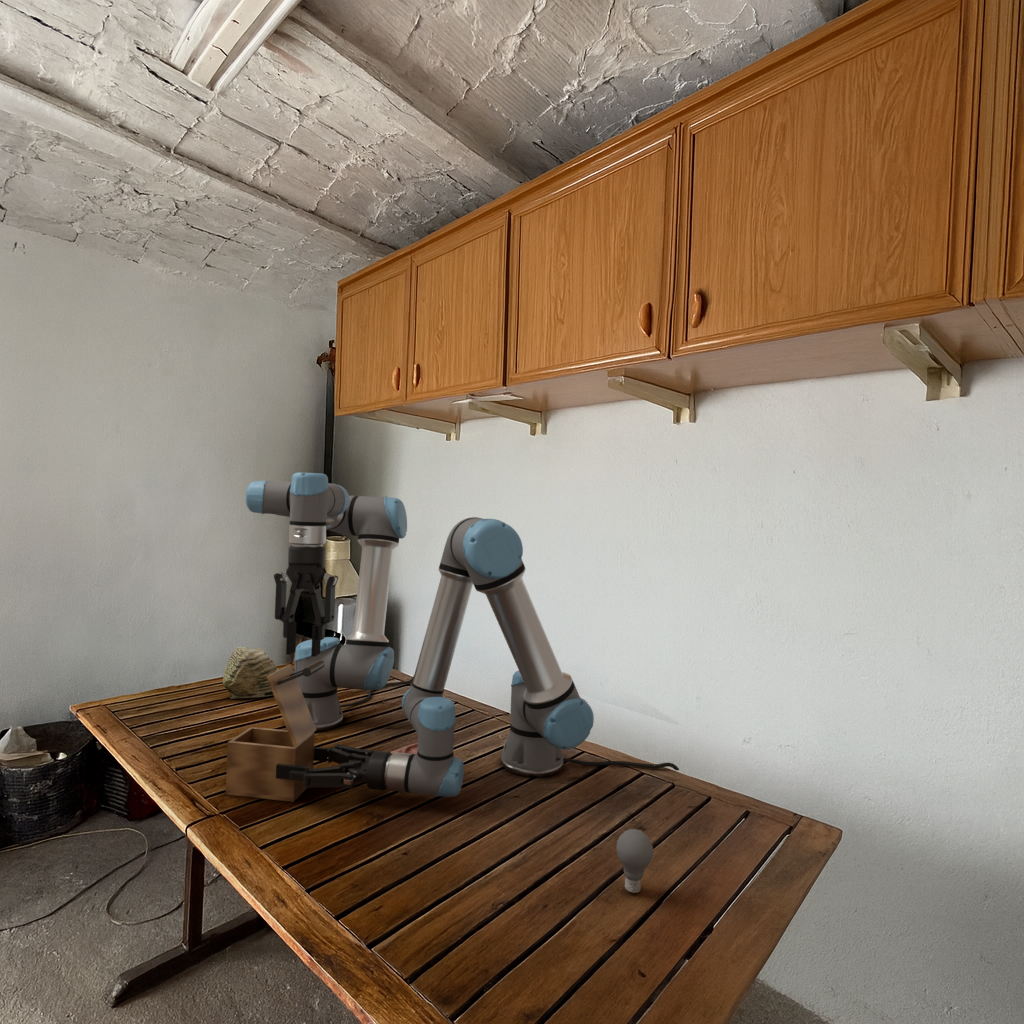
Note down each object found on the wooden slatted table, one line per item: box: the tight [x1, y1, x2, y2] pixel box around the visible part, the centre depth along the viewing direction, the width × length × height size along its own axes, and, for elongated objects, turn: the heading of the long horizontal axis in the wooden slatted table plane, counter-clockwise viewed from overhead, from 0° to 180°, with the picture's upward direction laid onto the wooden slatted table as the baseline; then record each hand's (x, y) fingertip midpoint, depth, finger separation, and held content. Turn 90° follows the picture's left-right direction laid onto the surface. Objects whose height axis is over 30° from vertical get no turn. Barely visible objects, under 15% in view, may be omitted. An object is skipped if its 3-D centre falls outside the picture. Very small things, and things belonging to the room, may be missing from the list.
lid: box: [267, 660, 325, 747], centre depth 135 cm, size 16×9×9 cm
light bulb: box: [615, 828, 654, 894], centre depth 106 cm, size 6×6×10 cm
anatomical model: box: [390, 742, 418, 755], centre depth 152 cm, size 13×4×12 cm
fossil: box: [222, 646, 280, 699], centre depth 198 cm, size 9×18×15 cm, turn 132°
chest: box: [225, 726, 316, 803], centre depth 136 cm, size 15×9×11 cm, turn 83°
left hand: (303, 653), depth 135 cm, fingers open, 5 cm apart
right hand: (288, 761), depth 136 cm, fingers closed on chest, 9 cm apart
